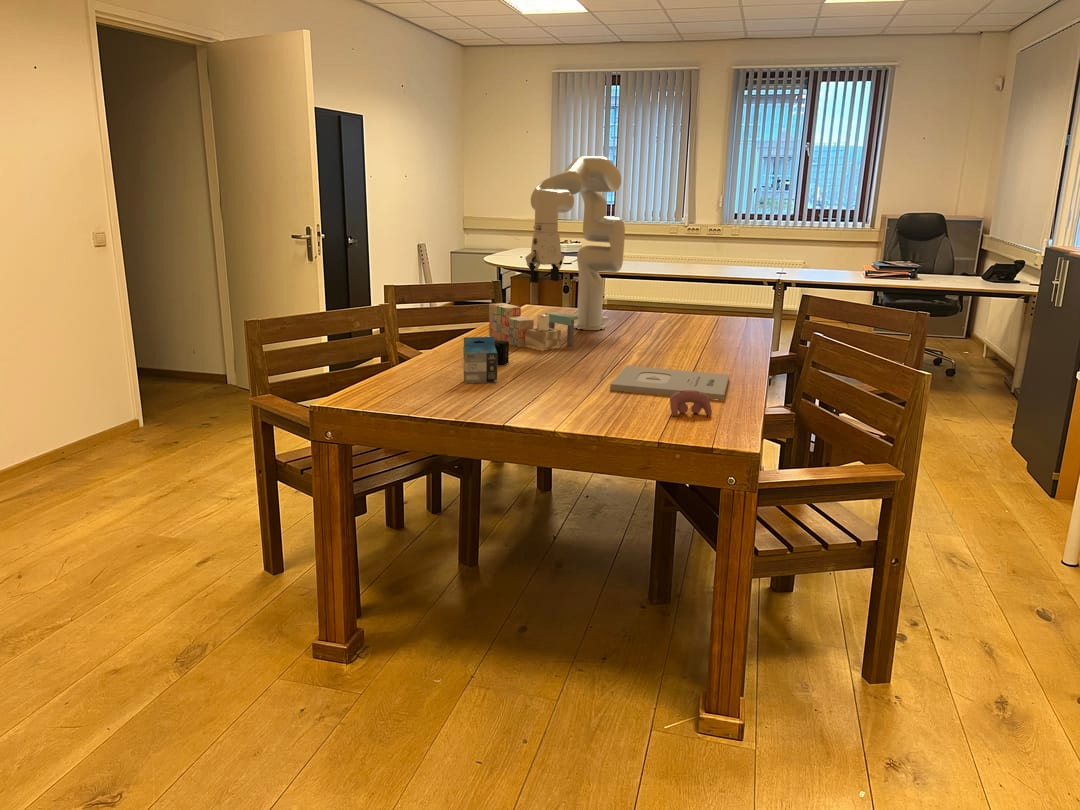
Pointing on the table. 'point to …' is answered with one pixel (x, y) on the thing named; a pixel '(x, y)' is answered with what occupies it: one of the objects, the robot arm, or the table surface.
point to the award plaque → (669, 381)
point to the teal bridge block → (563, 320)
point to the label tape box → (480, 360)
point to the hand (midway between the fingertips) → (544, 281)
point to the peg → (543, 323)
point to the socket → (542, 339)
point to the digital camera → (500, 351)
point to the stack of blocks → (508, 324)
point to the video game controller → (690, 396)
